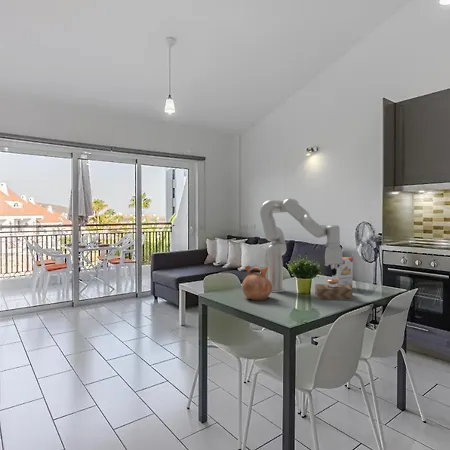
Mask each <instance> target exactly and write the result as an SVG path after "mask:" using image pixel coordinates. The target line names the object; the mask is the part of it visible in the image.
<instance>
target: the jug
mask: <svg viewBox="0 0 450 450" xmlns="http://www.w3.org/2000/svg"><path fill="white" fill-rule="evenodd" d="M244 268H245V270H246V273H247V276H246V277H245V278H244V279H243V281H242V283H241V289H242V292H243V294H244V295H245V297H246V298H248V299H247V300H249V299H252V300H251V301H254V300H261V301H265V300H267V299H268V297H269V296H270V295H271V293H272V292H271V291H272V283H271V281H270V280H269V279H268V276H267V275H266V274H267V273H268V266H265V267H262V268H261V267H259V266H254V267H252V268H251V267H250V265H248V264H247V265H246V266H245V267H244ZM254 270H257V271H259V272H253V271H254Z"/></svg>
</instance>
